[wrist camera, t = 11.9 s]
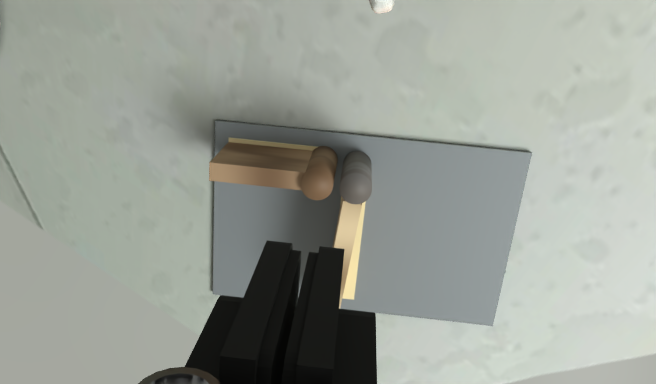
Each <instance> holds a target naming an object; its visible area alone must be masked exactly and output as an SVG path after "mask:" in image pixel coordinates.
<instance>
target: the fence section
mask: <svg viewBox="0 0 656 384" xmlns="http://www.w3.org/2000/svg"><path fill="white" fill-rule="evenodd" d="M337 162H338V158H337V154H336V152H335V151H334V150H333V149H332V148H330V147H327V146H319V147H317V148H316V149H314V150H313V151H311V150H301V149H292V148H282V147H272V146H263V145H253V144H243V143H234V142H228V143H227V144H226V145H225V146H224V147H223V148H222V150H221V151H220V152H219V153H218V154H217V155H216V156H215V157H214V158H213V159H212V160H211V161H210V167H209V181H218V182H227V183H237V184H246V185H256V186H265V187H274V188H284V189H293V190H302V192H303V193H304V195H305V196H307V197H308V198H310V199H312V200H322V199H325V198H326V197H328V196H329V195H330V193H331V192H332V189H333V184H334V178H335V173H336V167H337Z"/></svg>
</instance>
